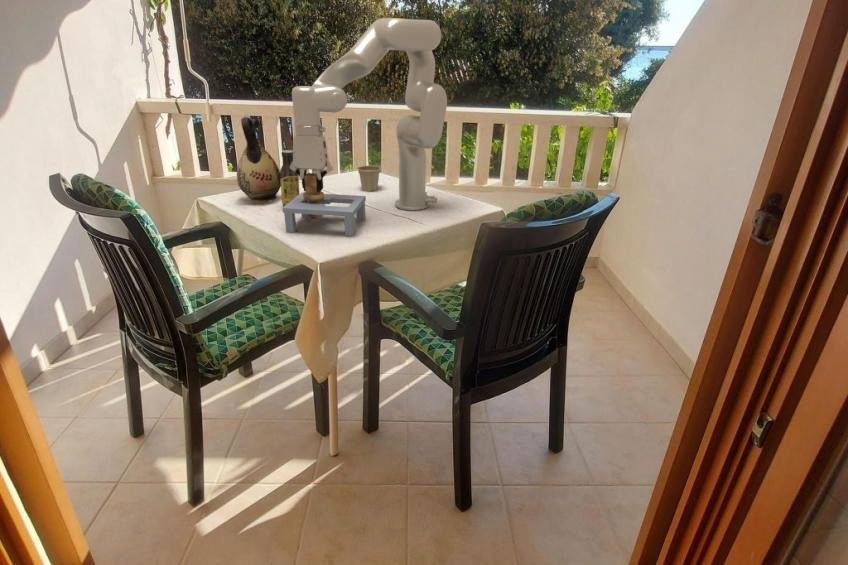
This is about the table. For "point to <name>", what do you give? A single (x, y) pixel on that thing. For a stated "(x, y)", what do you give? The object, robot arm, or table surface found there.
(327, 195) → the stand
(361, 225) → the table surface
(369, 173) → the flower pot
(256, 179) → the ceramic jug
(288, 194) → the sauce bottle
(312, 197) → the walnut peg
